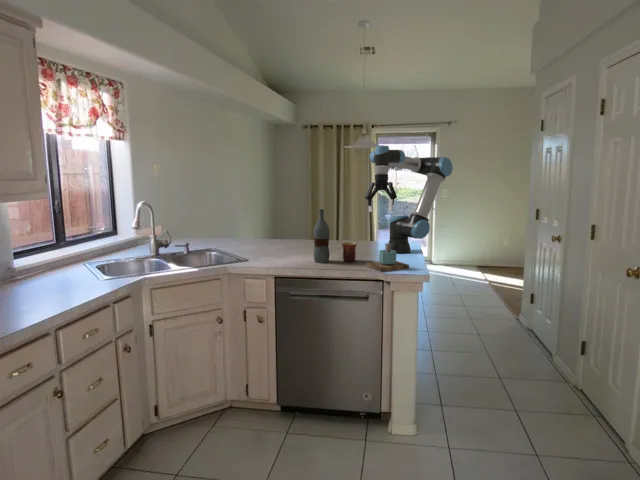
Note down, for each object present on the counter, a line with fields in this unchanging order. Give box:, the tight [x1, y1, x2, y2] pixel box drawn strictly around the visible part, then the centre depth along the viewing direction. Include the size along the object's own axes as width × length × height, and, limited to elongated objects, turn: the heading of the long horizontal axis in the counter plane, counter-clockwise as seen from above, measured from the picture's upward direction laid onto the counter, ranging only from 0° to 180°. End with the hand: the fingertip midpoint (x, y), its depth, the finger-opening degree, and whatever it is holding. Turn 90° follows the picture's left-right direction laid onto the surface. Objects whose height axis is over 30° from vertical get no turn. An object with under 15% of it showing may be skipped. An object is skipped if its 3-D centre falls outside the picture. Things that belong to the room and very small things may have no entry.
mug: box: [341, 241, 358, 263], centre depth 259 cm, size 12×9×10 cm
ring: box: [378, 249, 397, 264], centre depth 244 cm, size 8×8×6 cm
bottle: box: [313, 208, 330, 264], centre depth 258 cm, size 9×9×30 cm
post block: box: [366, 242, 410, 273], centre depth 243 cm, size 18×14×13 cm
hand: (380, 211), depth 259 cm, fingers open, 13 cm apart
